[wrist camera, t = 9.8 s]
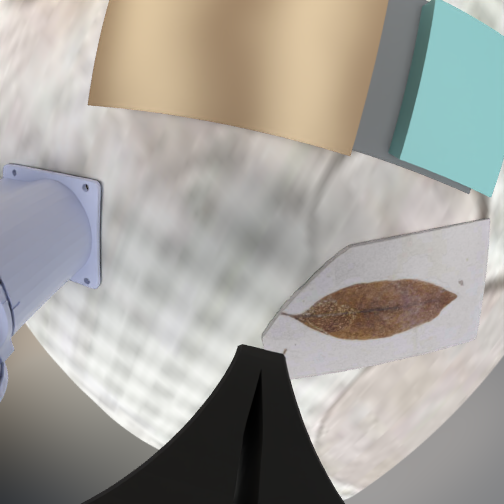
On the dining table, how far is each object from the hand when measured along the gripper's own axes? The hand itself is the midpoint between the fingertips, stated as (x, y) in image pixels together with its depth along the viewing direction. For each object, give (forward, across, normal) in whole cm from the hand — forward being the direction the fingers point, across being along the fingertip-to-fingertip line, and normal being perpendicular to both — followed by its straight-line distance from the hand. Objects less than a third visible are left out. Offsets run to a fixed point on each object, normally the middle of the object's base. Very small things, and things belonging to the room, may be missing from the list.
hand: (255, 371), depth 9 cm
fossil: (+11, -8, +3) cm, 14 cm away
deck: (+10, +4, -11) cm, 16 cm away
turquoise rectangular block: (+8, -8, -11) cm, 16 cm away
